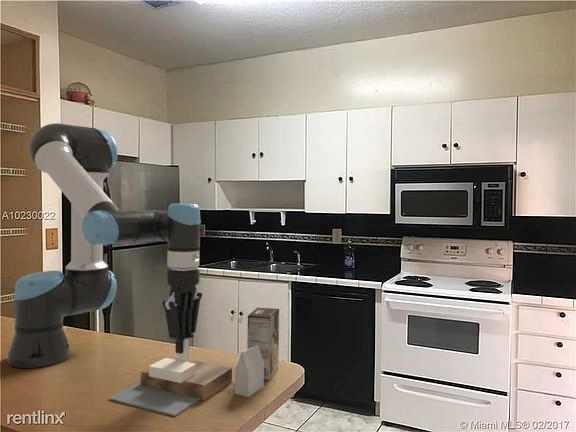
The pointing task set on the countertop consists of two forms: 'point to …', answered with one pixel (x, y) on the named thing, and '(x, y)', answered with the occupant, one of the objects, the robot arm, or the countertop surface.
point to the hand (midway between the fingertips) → (182, 364)
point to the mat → (155, 399)
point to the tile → (172, 370)
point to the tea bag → (249, 372)
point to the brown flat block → (193, 381)
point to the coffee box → (265, 337)
